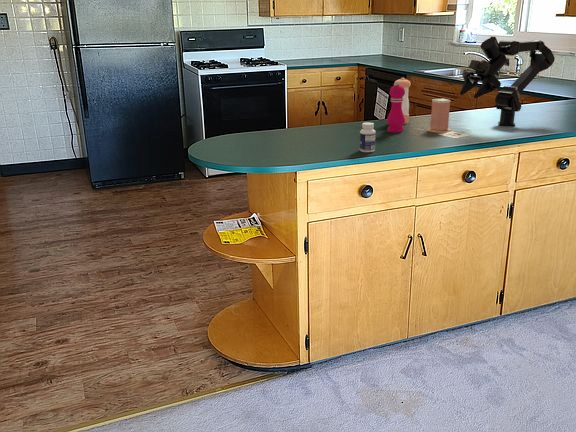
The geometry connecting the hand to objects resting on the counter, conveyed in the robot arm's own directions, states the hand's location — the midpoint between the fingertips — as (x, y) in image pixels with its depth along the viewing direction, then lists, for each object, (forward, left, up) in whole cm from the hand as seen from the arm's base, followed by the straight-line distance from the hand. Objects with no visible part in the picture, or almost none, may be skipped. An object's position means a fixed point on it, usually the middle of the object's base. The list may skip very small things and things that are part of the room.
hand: (467, 96), depth 236 cm
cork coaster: (+4, -10, -14) cm, 17 cm away
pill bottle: (+45, -33, -14) cm, 58 cm away
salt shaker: (-11, -27, -14) cm, 32 cm away
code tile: (+12, -4, -14) cm, 19 cm away
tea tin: (+4, -10, -13) cm, 17 cm away
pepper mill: (+9, -27, -14) cm, 32 cm away
